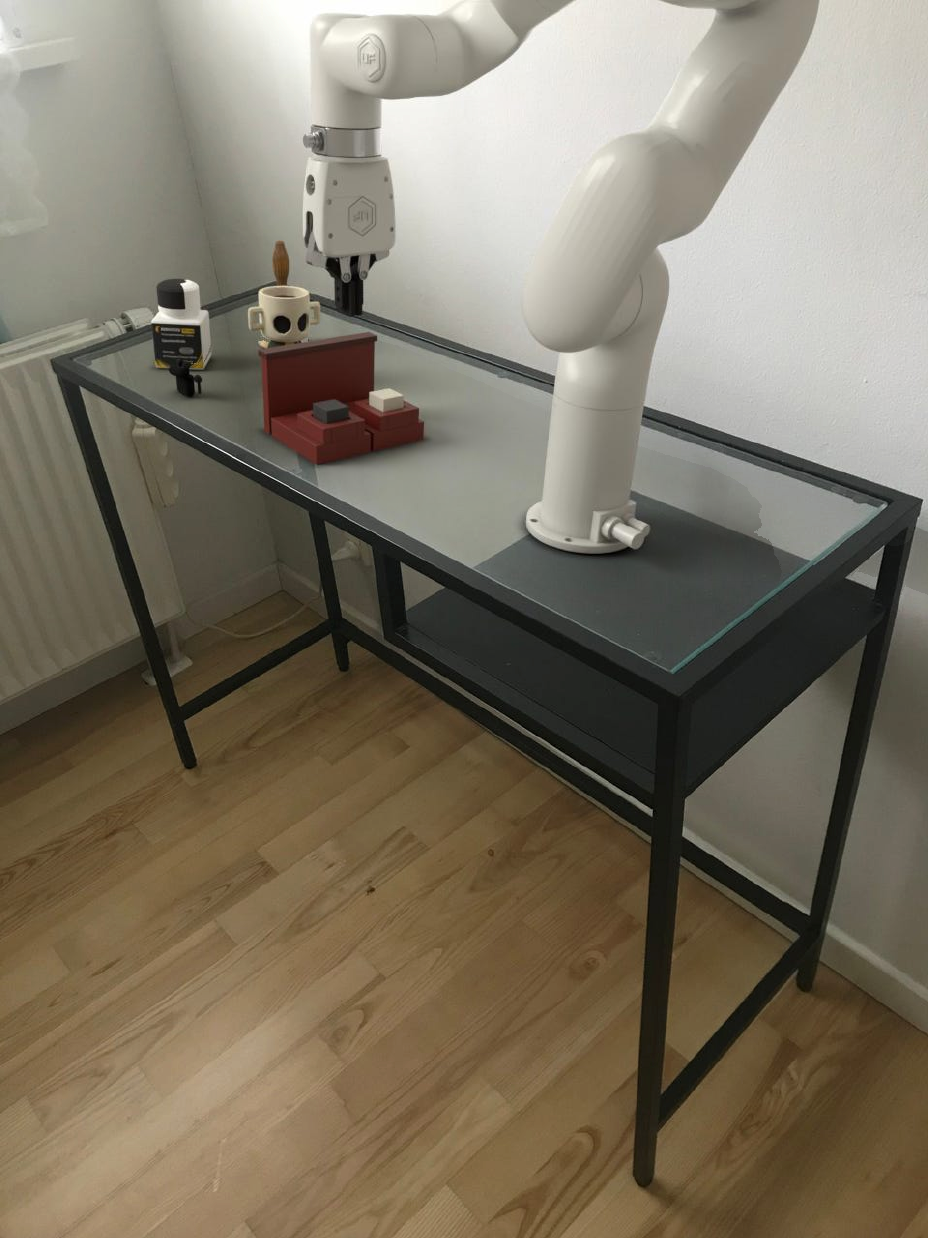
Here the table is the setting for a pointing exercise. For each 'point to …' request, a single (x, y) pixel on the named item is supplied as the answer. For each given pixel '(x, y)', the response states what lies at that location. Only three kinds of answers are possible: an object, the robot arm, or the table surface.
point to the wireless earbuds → (185, 378)
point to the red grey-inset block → (322, 436)
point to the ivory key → (386, 400)
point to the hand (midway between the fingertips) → (349, 313)
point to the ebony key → (330, 411)
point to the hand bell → (279, 270)
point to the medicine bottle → (180, 325)
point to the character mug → (284, 315)
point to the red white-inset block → (389, 424)
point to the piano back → (316, 374)
